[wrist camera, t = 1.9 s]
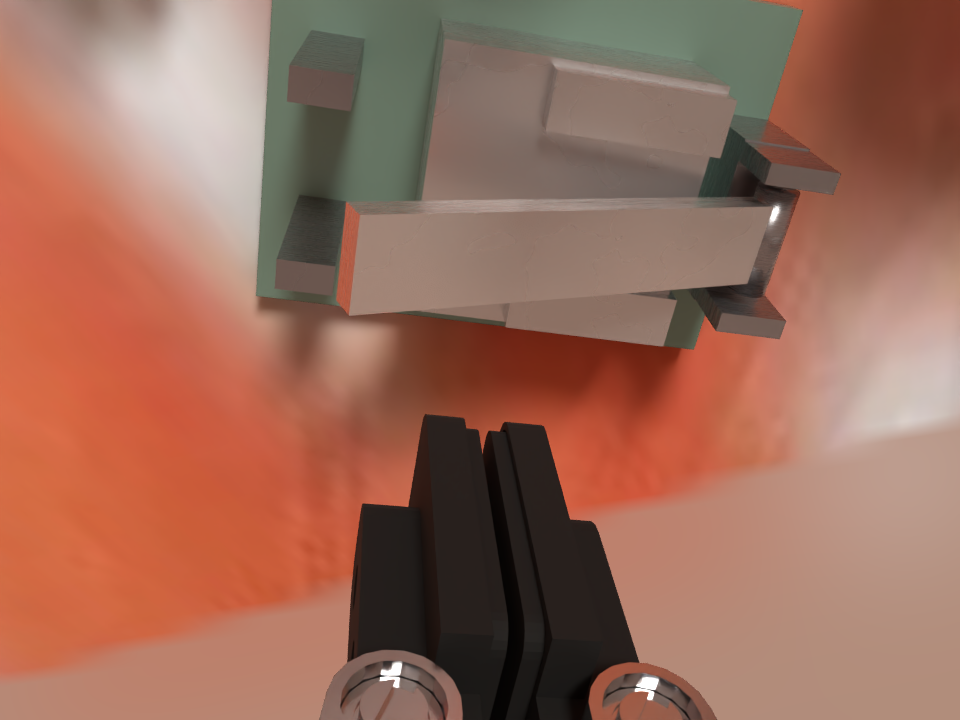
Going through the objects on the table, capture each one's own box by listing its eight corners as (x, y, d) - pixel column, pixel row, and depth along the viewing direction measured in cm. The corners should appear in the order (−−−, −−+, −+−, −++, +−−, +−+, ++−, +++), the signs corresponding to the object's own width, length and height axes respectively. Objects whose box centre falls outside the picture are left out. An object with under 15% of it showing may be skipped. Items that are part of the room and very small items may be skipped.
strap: (778, 180, 26) (809, 195, 25) (744, 279, 28) (772, 296, 27) (344, 180, 19) (365, 200, 18) (331, 311, 21) (350, 335, 20)
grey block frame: (781, 76, 28) (860, 120, 23) (709, 301, 32) (764, 380, 27) (314, -4, 26) (290, 25, 21) (295, 246, 30) (271, 322, 25)
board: (790, 6, 28) (803, 10, 27) (686, 336, 34) (693, 349, 33) (281, -88, 26) (276, -86, 25) (260, 283, 32) (256, 295, 31)
